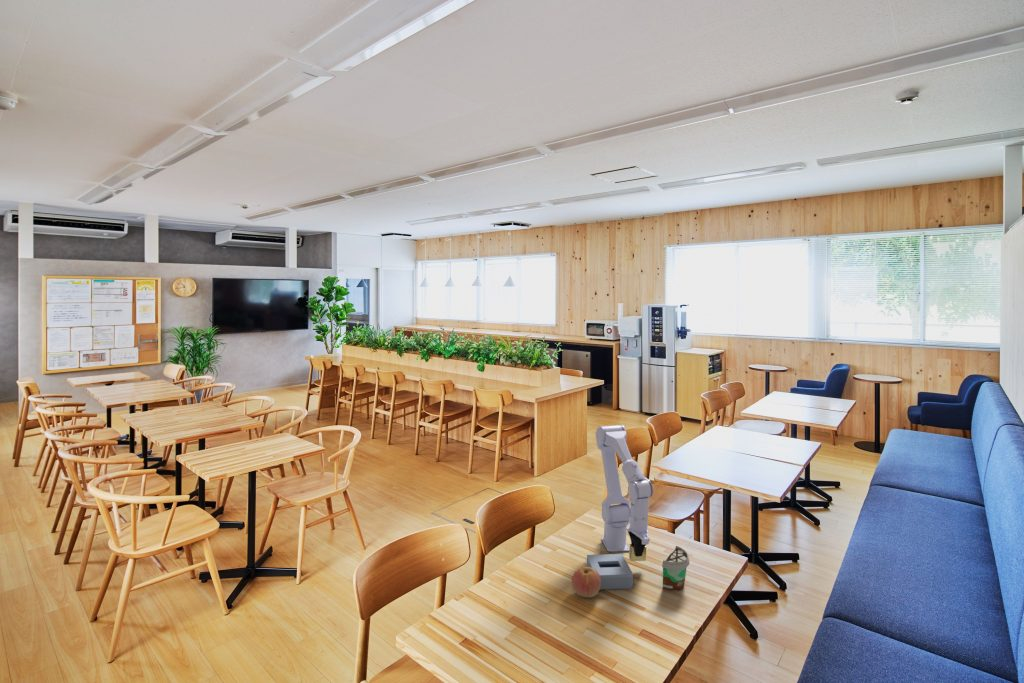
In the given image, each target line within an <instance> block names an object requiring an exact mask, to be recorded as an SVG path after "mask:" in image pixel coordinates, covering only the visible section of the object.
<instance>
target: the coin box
mask: <svg viewBox="0 0 1024 683" xmlns="http://www.w3.org/2000/svg"><path fill="white" fill-rule="evenodd" d="M586 567H591V568H593V569H595V570H596V571H597V572H598V573H599V575H600V579H601V586H600V589H599V591H611V590H614V591H617V590H633V585H634V584H633V583H634V573H633V571H632V569H631V568H630V565H629V564H628V562H627V560H626V558H625V556H624V555H623V554H622V553H609V554H605V553H604V554H587V555H586Z"/></svg>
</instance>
